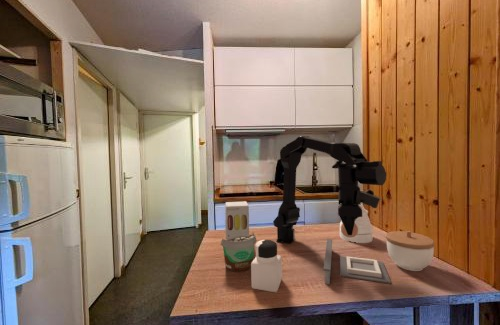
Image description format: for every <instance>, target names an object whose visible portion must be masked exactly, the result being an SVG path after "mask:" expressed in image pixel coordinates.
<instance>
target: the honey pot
mask: <svg viewBox="0 0 500 325" xmlns="http://www.w3.org/2000/svg"><path fill="white" fill-rule="evenodd" d="M358 205H359V204H358ZM359 206H360V207H361V208H362V217H358V218H357V219H356V220H355V224H356V225H357V227H358V233H357V235H356V236H354V237H351V238H350V237H346V236H345V235H343V233H342V232H341V225H342V224H343V223H342V220H341V219H340V222H339V237H340V239H342V240H344V241H346V242H349V241H351V242H350V243H354V242H356V244H369V243H371V242H372V241H373V226H372V223H371V221H370V220H371V219H370V218H369V216H368V213H369V211H368V210H367V209H366V208H365V207H364V205H363V203H361V205H359Z"/></svg>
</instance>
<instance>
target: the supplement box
mask: <svg viewBox="0 0 500 325" xmlns="http://www.w3.org/2000/svg"><path fill="white" fill-rule="evenodd" d="M249 208H250V207H249V204H248V202H247V201H246V200H245V201H226V202H225V213H224V214H225V215H224V216H225V217H224V218H225V220H224V222H225V223H224V225H225V232H224V233H225V240H230V239H233V238H236V237H241V236H249V235H250V218H249V217H250V210H249Z"/></svg>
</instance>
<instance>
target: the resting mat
mask: <svg viewBox="0 0 500 325" xmlns="http://www.w3.org/2000/svg"><path fill="white" fill-rule="evenodd" d="M339 263H340V264H339V268H340V269H339V270H340V272H339V275H340V277H343V278H350V279H356V280H361V281H362V280H363V281H369V282H375V283H376V282H377V283H381V284H388V285H391V284H392V282H391V279H390V276H389V275H388V271H387V269H386V267H385V264H384V262H383V261H379V260H377V259H372V258H363V257H362V258H361V257H355V256H347V255H346V256H340V257H339Z"/></svg>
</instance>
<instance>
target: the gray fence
mask: <svg viewBox="0 0 500 325" xmlns="http://www.w3.org/2000/svg"><path fill="white" fill-rule="evenodd" d="M324 254H325V255H324V263H323V271H324V284H326V285H328V286H329V285H330V284H331V283H330V282H331V270H332V254H333V239H332V238H327V239H326V247H325V253H324Z"/></svg>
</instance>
